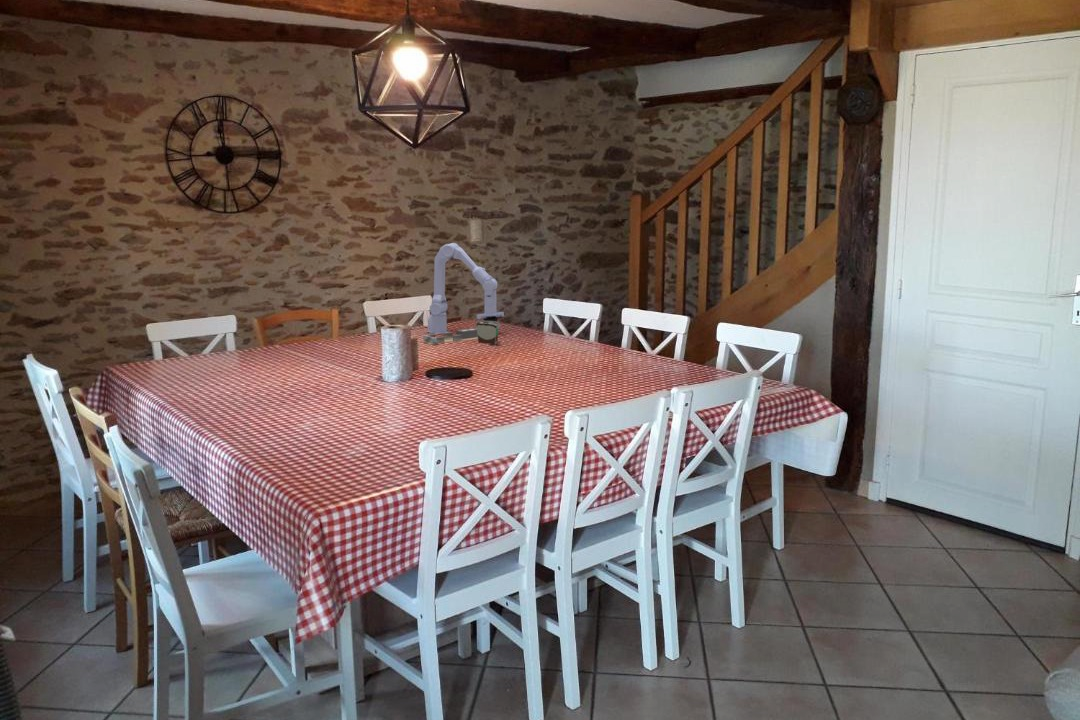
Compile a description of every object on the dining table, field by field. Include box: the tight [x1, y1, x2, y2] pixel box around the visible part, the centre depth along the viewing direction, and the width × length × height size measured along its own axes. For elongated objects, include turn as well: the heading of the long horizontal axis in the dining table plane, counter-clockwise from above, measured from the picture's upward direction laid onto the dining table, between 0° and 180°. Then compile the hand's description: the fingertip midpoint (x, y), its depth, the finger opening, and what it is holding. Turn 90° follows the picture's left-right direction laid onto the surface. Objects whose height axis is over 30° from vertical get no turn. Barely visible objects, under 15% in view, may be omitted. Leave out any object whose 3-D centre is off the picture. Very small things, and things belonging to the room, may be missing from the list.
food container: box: [475, 320, 501, 347], centre depth 380 cm, size 12×6×10 cm, turn 58°
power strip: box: [456, 327, 478, 339], centre depth 393 cm, size 4×14×4 cm, turn 129°
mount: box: [420, 331, 478, 346], centre depth 388 cm, size 10×33×3 cm, turn 129°
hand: (490, 332), depth 399 cm, fingers closed
